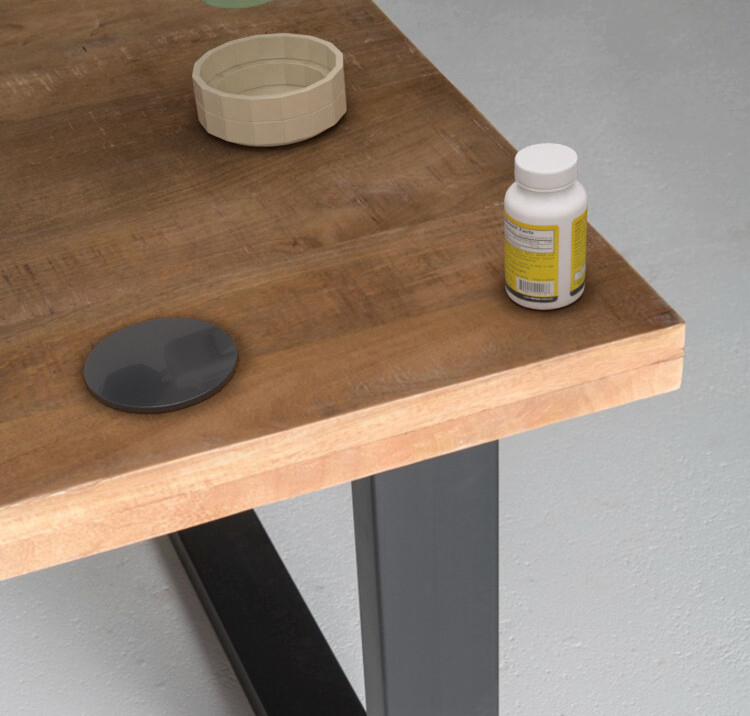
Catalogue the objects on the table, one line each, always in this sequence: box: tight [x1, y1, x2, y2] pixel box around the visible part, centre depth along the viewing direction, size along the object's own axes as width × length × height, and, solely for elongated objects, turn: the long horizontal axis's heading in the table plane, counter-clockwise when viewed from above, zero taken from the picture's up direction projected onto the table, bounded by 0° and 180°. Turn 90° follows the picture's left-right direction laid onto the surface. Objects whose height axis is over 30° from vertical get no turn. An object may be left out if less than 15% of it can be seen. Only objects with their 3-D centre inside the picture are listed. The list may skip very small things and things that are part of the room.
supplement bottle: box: [503, 142, 589, 311], centre depth 92 cm, size 5×5×10 cm
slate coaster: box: [83, 317, 239, 414], centre depth 92 cm, size 10×10×1 cm
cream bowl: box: [191, 32, 348, 148], centre depth 116 cm, size 12×12×4 cm
